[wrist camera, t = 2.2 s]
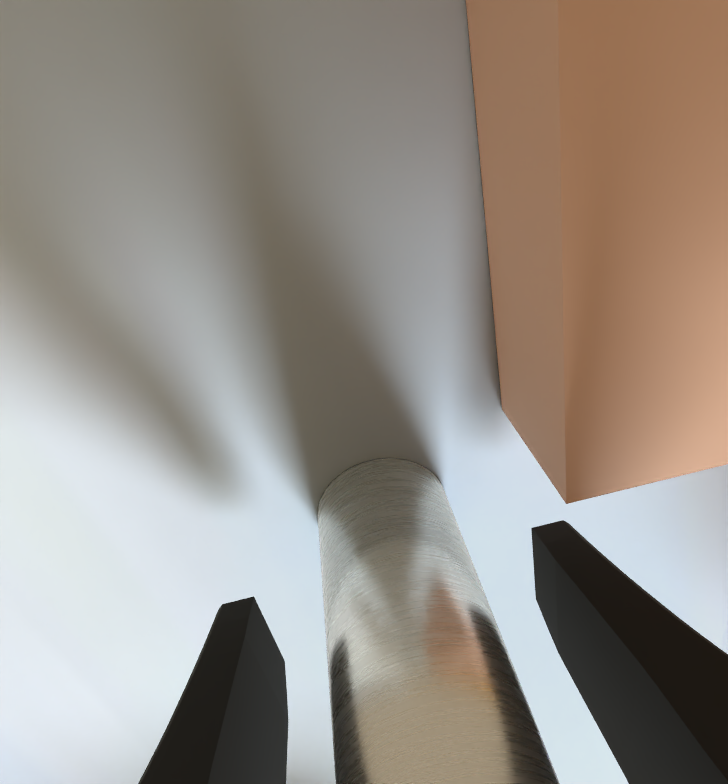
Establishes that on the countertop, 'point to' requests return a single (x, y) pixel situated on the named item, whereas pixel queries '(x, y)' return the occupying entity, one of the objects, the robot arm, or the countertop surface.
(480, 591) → the steel peg
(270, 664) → the robot arm
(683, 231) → the hole block
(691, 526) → the countertop surface
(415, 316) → the countertop surface
